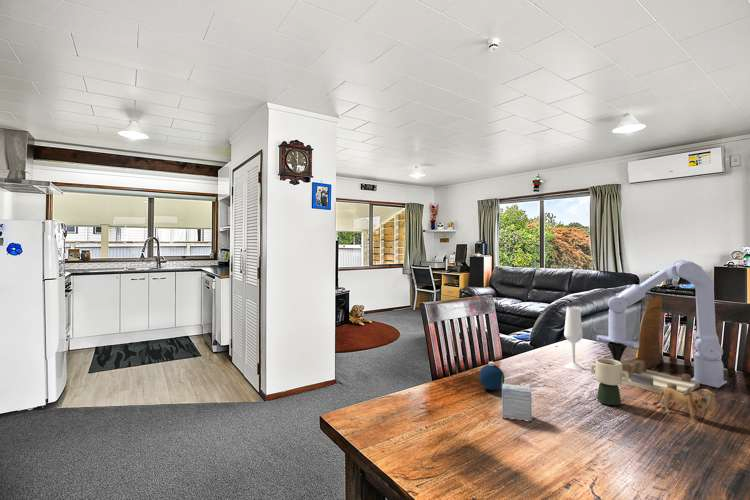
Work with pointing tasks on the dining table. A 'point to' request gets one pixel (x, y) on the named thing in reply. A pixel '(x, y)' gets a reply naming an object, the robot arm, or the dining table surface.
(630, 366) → the wooden board
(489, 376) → the christmas ornament
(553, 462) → the dining table surface
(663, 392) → the lion figurine
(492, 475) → the dining table surface
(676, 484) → the dining table surface
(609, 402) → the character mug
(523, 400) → the medicine box
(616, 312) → the robot arm
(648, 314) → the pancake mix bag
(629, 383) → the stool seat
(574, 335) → the champagne flute
